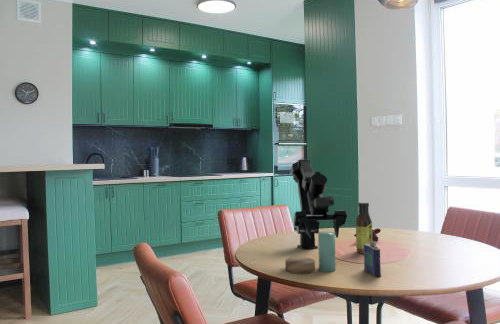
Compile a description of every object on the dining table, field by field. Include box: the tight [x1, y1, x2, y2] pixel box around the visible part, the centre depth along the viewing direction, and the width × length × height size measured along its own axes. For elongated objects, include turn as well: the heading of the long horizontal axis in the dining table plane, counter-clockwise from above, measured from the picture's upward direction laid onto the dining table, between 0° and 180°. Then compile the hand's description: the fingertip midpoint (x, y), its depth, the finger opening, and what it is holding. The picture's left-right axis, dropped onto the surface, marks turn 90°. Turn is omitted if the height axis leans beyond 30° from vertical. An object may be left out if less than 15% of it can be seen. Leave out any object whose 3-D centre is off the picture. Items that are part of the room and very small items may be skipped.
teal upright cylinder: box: [317, 231, 337, 273], centre depth 136 cm, size 6×6×12 cm
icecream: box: [353, 228, 382, 241], centre depth 177 cm, size 7×7×15 cm
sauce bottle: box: [355, 201, 373, 254], centre depth 159 cm, size 7×6×20 cm
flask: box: [363, 240, 382, 278], centre depth 131 cm, size 9×3×11 cm, turn 8°
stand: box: [284, 256, 316, 275], centre depth 136 cm, size 10×10×3 cm
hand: (324, 237), depth 139 cm, fingers open, 9 cm apart
